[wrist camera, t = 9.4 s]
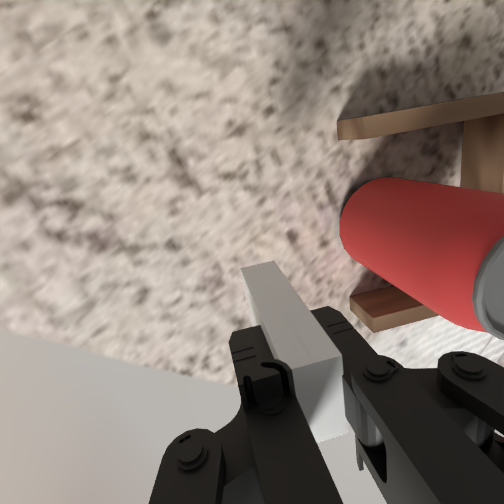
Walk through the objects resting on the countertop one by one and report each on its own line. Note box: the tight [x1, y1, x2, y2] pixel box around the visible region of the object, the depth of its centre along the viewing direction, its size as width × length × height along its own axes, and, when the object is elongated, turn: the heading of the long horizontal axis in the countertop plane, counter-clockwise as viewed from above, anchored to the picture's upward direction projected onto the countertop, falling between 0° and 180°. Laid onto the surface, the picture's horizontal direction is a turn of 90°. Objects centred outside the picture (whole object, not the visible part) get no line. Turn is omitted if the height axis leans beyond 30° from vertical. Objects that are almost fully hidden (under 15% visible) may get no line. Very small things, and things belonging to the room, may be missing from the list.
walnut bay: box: [337, 92, 504, 333], centre depth 23 cm, size 14×11×4 cm
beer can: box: [340, 177, 504, 340], centre depth 19 cm, size 7×7×12 cm
